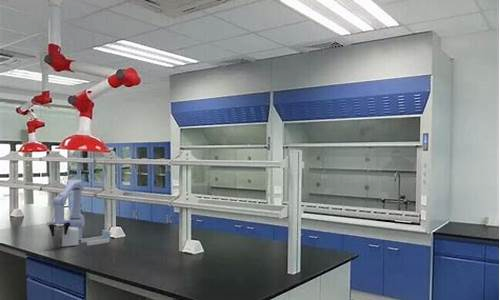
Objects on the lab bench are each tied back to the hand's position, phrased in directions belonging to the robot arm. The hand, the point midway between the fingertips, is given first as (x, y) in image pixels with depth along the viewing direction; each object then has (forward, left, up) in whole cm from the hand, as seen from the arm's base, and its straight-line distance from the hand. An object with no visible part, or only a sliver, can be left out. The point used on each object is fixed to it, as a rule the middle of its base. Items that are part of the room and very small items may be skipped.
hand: (59, 235), depth 251 cm
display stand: (-2, +24, -9) cm, 26 cm away
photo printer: (-2, +8, -9) cm, 12 cm away
